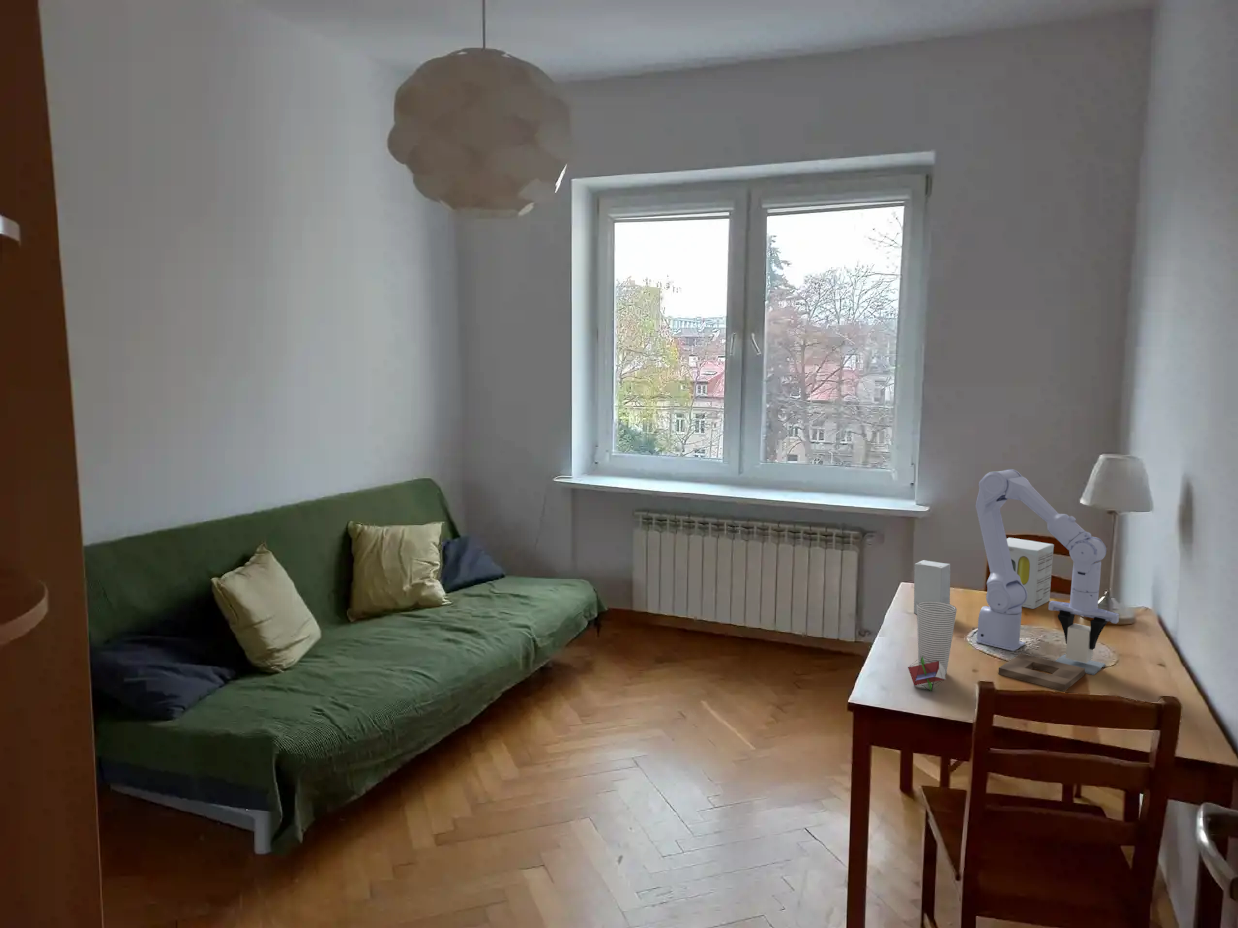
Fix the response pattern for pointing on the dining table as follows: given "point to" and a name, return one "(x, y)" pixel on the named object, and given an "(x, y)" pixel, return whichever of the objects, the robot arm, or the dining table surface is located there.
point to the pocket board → (1058, 680)
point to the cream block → (1079, 643)
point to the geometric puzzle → (927, 673)
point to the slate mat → (1082, 664)
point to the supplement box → (1032, 568)
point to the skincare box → (931, 582)
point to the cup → (935, 631)
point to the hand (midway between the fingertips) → (1080, 645)
